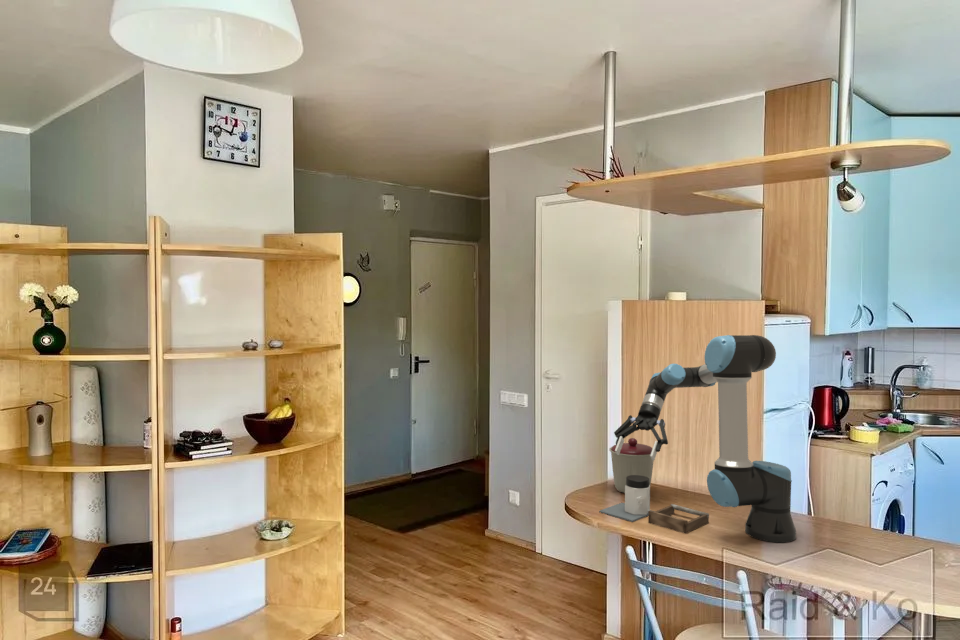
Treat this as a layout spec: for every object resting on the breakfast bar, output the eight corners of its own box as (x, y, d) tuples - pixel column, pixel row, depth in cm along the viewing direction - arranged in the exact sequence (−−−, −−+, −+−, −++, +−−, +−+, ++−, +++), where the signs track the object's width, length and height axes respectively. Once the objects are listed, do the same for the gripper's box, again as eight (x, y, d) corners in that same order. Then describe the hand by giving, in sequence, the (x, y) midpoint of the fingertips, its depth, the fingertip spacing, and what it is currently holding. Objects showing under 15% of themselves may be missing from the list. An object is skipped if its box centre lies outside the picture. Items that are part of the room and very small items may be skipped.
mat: (655, 513, 236) (655, 511, 236) (632, 522, 226) (632, 520, 226) (622, 504, 246) (622, 502, 246) (599, 512, 236) (599, 510, 236)
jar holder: (709, 522, 226) (709, 511, 226) (685, 533, 215) (686, 521, 215) (672, 512, 236) (672, 501, 236) (648, 522, 226) (648, 511, 225)
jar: (627, 515, 231) (628, 481, 231) (621, 507, 240) (622, 475, 239) (653, 515, 232) (653, 481, 231) (646, 507, 240) (646, 474, 239)
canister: (638, 500, 250) (639, 445, 249) (599, 490, 263) (600, 437, 263) (664, 491, 262) (665, 438, 261) (626, 482, 275) (627, 431, 275)
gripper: (685, 418, 246) (670, 466, 235) (623, 411, 261) (605, 456, 249) (680, 406, 242) (664, 454, 230) (617, 399, 257) (599, 444, 245)
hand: (634, 455), depth 240 cm, fingers open, 13 cm apart
